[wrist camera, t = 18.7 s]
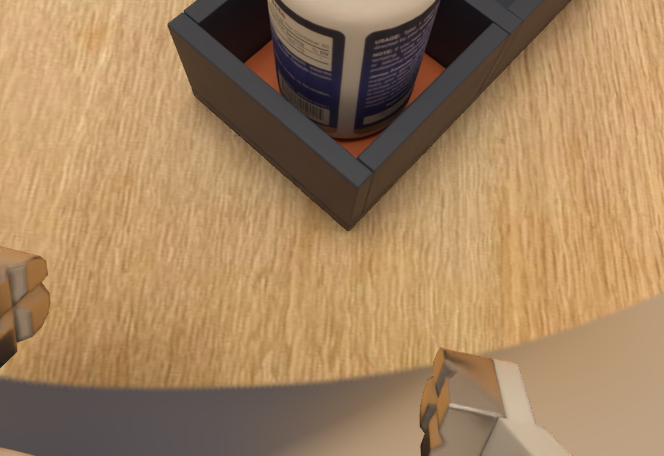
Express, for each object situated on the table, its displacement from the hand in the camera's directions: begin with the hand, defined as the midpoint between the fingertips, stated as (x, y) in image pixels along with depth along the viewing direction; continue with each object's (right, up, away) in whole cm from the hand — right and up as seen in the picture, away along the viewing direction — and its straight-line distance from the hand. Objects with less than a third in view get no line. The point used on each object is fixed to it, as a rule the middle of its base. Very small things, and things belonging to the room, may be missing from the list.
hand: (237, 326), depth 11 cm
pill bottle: (+2, +8, +12) cm, 14 cm away
